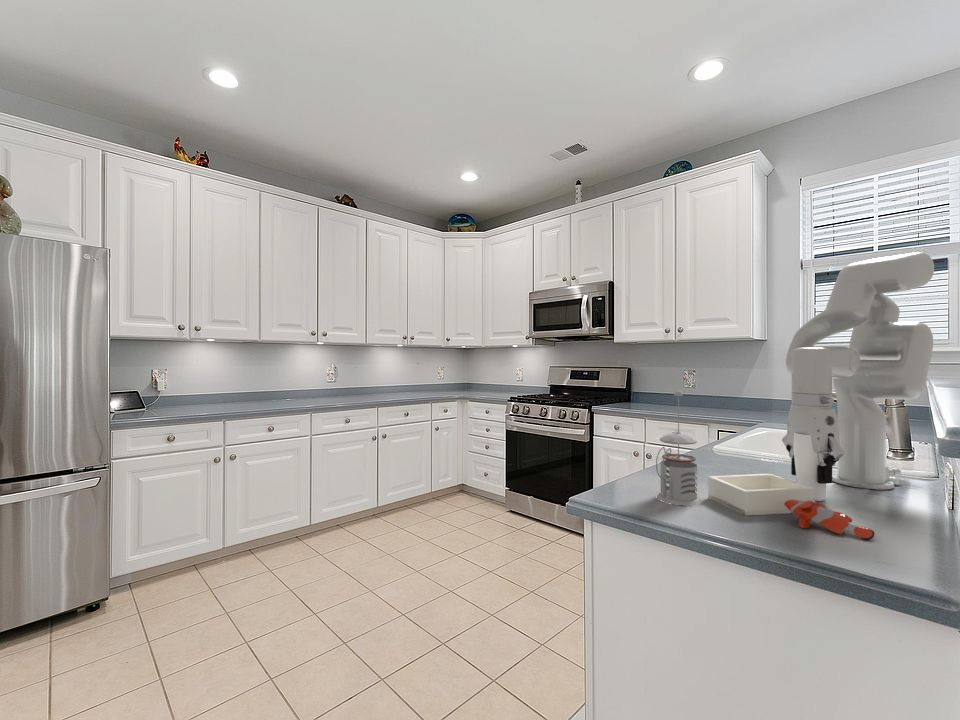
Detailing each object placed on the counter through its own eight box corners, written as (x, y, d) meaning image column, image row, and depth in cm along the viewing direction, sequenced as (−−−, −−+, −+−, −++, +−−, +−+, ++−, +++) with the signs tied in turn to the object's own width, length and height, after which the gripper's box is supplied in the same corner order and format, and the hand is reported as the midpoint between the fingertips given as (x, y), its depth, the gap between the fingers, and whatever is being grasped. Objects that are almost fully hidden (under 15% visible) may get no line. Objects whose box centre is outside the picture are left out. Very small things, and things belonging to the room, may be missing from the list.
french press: (711, 501, 104) (711, 391, 103) (678, 510, 98) (678, 393, 97) (673, 490, 112) (673, 388, 112) (641, 498, 106) (641, 390, 106)
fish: (776, 496, 91) (808, 492, 94) (776, 520, 92) (808, 515, 94) (844, 518, 79) (879, 513, 82) (844, 545, 79) (879, 539, 82)
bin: (770, 494, 108) (770, 473, 108) (814, 511, 96) (814, 488, 96) (708, 497, 106) (708, 476, 106) (745, 515, 94) (745, 491, 94)
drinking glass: (837, 502, 102) (837, 435, 102) (811, 504, 101) (811, 436, 101) (811, 493, 109) (811, 430, 109) (786, 494, 108) (786, 431, 108)
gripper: (861, 404, 97) (861, 489, 97) (794, 397, 114) (794, 469, 114) (830, 405, 96) (830, 490, 96) (767, 397, 113) (767, 470, 113)
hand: (811, 478), depth 105 cm, fingers closed on drinking glass, 6 cm apart
